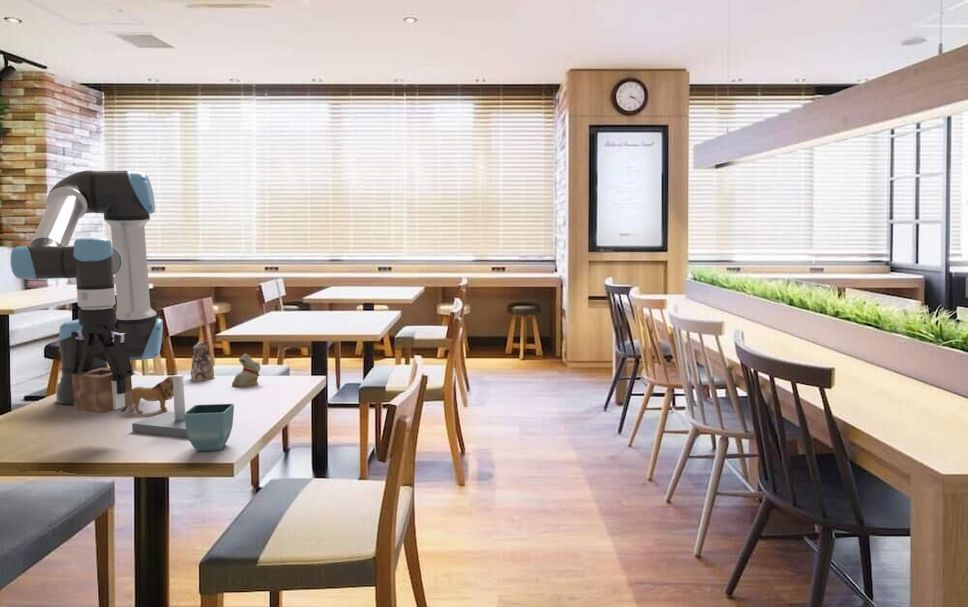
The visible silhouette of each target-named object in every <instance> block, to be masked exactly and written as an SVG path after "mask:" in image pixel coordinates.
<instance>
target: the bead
mask: <svg viewBox="0 0 968 607" xmlns="http://www.w3.org/2000/svg"><path fill="white" fill-rule="evenodd" d="M126 372H127V371H126ZM119 374H120V373H119ZM112 379H114V377H113V374H112V372H111V369H110V367H108V368H103V367H102V368H98V369H94V370H90V371H86V372H82V373H78V374H74V375H72V384H73V397H74V405H73V406H74V411H81V412H89V413H101V414H105V413H108V412H112V411H114V410H116V409H113V397H112V382H111V381H112ZM125 382H126V393H124V394H125V406H127V405H128V406H129V405H131V404H133V396H132V389H133V382H132V376H129V377H127V378H126V379H125ZM125 406H124V407H125Z"/></svg>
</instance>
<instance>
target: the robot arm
mask: <svg viewBox="0 0 968 607" xmlns="http://www.w3.org/2000/svg"><path fill="white" fill-rule="evenodd" d="M152 187H153V186H152V184H151V180H150V179H149V176H148V175H147V174H146V173H145V172H143V171H136V170H129V169H128V170H90V169H89V170H88V169H87V170H82V171H78V172H75V173H71V174H69V175H68V176H66V177H64V178H63V179H61V180H60V181H58V182H57V183H56V184H55V185H53V186H52V187H51V189H50V190H49V192H48V195H47V197H46V200H45V202H46V209H45V212H44V213H43V216H42V218H41V220H40V222H39V225H38V226H37V229H36V231H35V233H34V235H33V237H32V239H31V241H30V244H29V245H28V246H27V245H22V246H16V247H14V248H12V251H11V254H10V267H11V271H12V274H13V275H14V276H15V278H17V279H21V280H35V281H36V280H42V279H43V280H46V279H47V280H48V279H75V281H76V294H77V295H76V298H77V306H78V307H79V309H78V310H77V314H78V316H77V317H78V319H73V320H70V321H65V322H63V323H62V324H61V325H60V326H59V328H58V329H59V334H58V335H59V338H58V341H59V350H60V352H59V353H60V366H61V376H60V381H59V385H58V390H57V392H56V396H55V397H56V403H57V404H60V405H67V406H68V405H73V406H74V397H73V384H72V375H74V374H78V373H82V372H86V371H90V370H94V369H98V368H102V367H103V368H110V369H111V372H112V374H113V377H114V379H112V381H111V382H112V397H113V409H115V410H118V409H121V408H125V394H124V393H126V382H125V379H126V378H127V377H129V376H131V377H132V376H133V375H134V371H133V366H132V362H131V361H139V360H140V361H144V360H152V359H156V358H157V357H158V356H159V355H160V352H161V348H162V342H163V332H164V325H163V323H164V320H163V319H162V318H158V317H157V311H156V310H154V309H153V308H152V307H151V300H150V299H151V297H150V286H149V272H148V271H149V269H148V260H147V258H148V256H147V244H146V230H145V229H146V228H145V226H146V224H147V223H148V222H149V221H150V220H151V216H150V214H151V215H152V214H154V213H155V211H156V204H155V196H154V191H153V188H152ZM86 214H103V221H104V222H106V223H107V224H108V225H109V227H110V233H111V239H109V238H106V237H87V238H84V237H83V238H77V239H74V240H75V241H74V242H73V245H69V244H70V242H71V239H72V238H73V234H74V232H75V229H76V226H77V225H78V222H79V219H81V218H83V217H84V216H85V215H86ZM115 305H116V307H117V308H116V307H115ZM126 371H127V372H126ZM119 373H120V374H119Z"/></svg>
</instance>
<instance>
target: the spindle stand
mask: <svg viewBox="0 0 968 607" xmlns="http://www.w3.org/2000/svg"><path fill="white" fill-rule="evenodd" d="M172 376H173V393H174V396H173V408H174V410H173V411H166V412H162V413H160V414H156V415H154V416H150V417H148V418H144V419H142V420H138V421H136V422H132V423H131V427H132V428H131V430H132V432H134V433H142V434H153V435H161V436H162V435H163V436H170V437H171V436H172V437H178V438H179V437H180V438H182V437H183V438H188V436H187V432H186V427H185V421H184V416H183V414H184V413H185V412H186V404H185V400H186V398H185V383H184V381H185V380H184V375H183V374H175V375H172Z"/></svg>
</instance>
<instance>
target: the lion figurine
mask: <svg viewBox="0 0 968 607" xmlns="http://www.w3.org/2000/svg"><path fill="white" fill-rule="evenodd" d="M173 376H174V375H171V376H167V377H166V378H165V379H163V381H160V382H158V383H157V384H156V385H155V386H153V387H143V386H136V387H134V388H133V387H132V396H133V404H131V405H127V406H124V407H123V409H121V411H120V412H121V413H123V412H125V411H126V410H127V409H128V411H129V412H133V411H136V413H137V414H143V410H140V408H139V405H140V403H141V399H143V400H145V401H147V402H159V403H160V404H159V407H160V408H159V409H160V410H161V412H162V413H165V412H168V409H167V407H166V402H167V401H168V400H172V399H173V398H174V393H173ZM133 407H134V408H133Z"/></svg>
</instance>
